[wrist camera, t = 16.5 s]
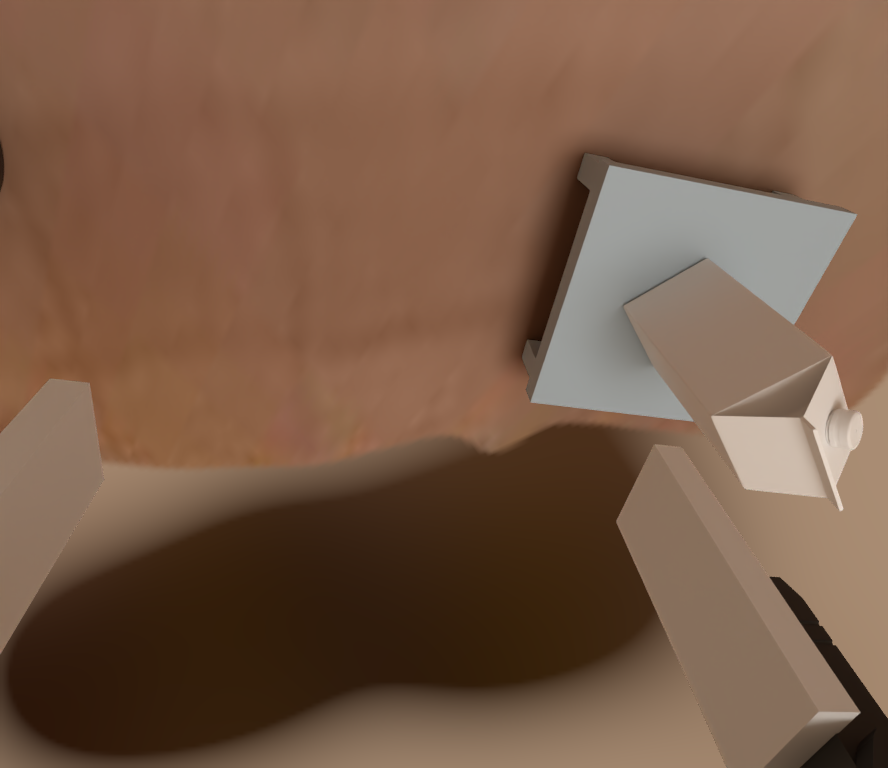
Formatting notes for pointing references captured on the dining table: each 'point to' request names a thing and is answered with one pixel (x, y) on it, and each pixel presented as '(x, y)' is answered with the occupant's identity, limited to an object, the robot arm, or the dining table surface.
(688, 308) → the milk carton
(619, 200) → the grey square footed tray
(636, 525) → the robot arm
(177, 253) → the dining table surface
